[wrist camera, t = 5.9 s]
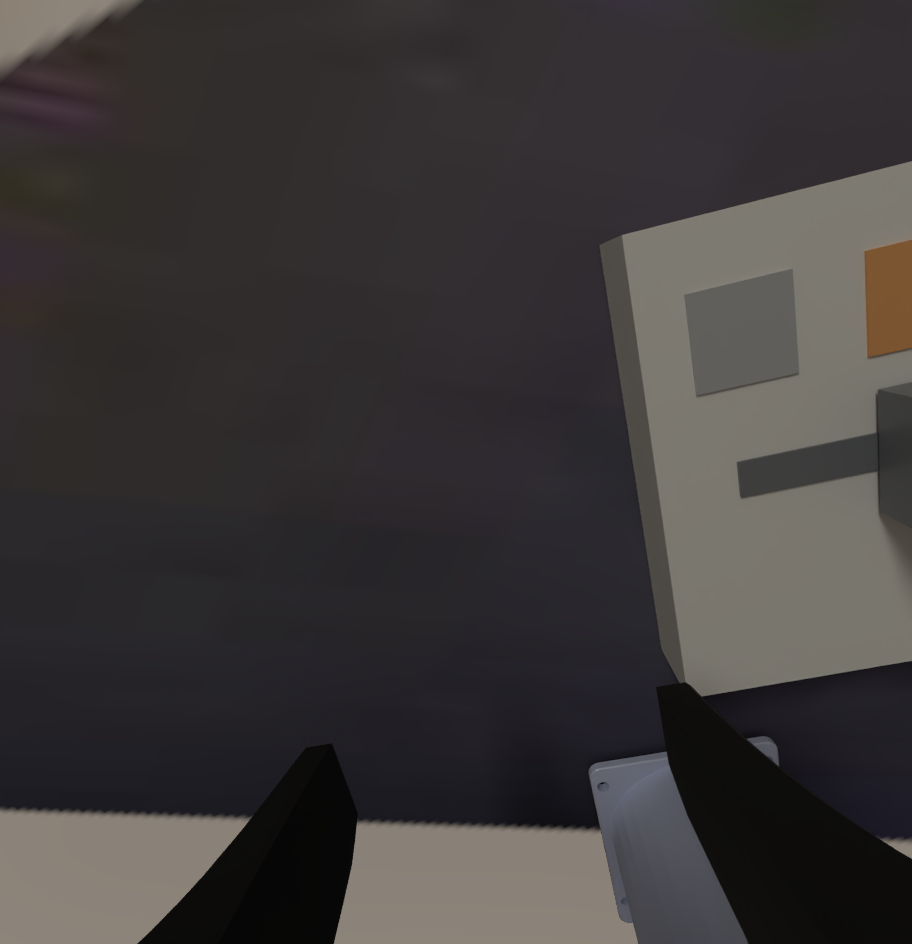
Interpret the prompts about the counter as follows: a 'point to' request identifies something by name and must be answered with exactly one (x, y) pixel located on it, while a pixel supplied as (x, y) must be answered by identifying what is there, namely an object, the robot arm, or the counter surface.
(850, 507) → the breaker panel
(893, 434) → the handle
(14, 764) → the counter surface
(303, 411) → the counter surface
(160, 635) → the counter surface
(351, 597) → the counter surface
